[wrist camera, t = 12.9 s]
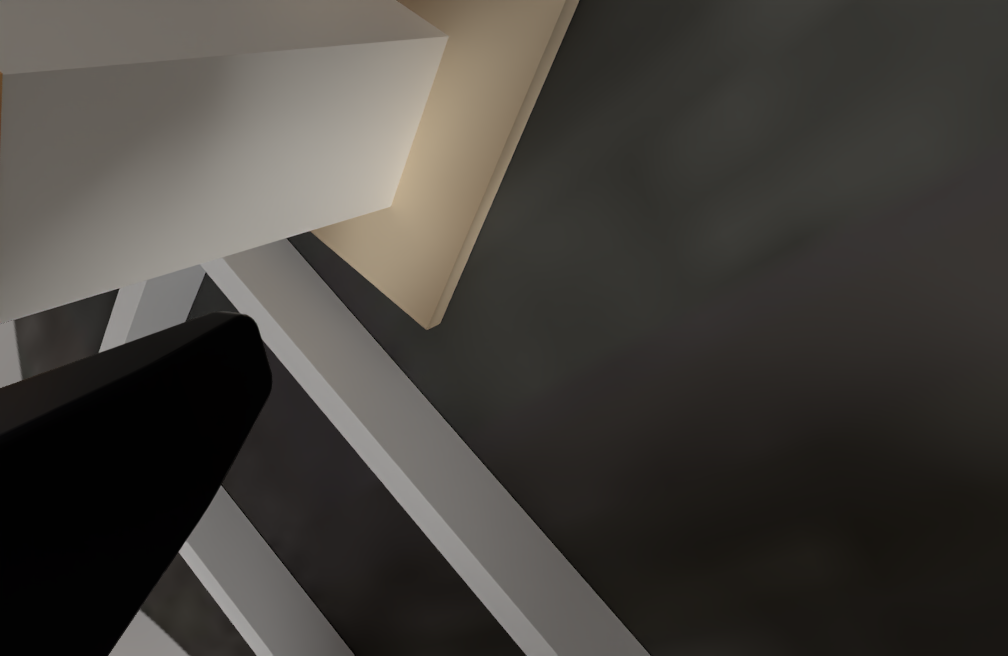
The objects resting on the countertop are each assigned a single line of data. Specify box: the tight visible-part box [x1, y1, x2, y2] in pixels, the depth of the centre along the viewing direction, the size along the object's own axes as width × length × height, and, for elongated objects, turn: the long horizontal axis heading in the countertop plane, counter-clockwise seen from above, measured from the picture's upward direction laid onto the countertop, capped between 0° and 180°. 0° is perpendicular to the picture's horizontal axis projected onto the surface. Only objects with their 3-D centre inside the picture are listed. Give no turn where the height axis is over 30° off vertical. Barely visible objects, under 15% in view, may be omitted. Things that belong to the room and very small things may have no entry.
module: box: [0, 0, 449, 324], centre depth 18 cm, size 5×5×13 cm
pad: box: [311, 0, 579, 330], centre depth 24 cm, size 10×10×1 cm
